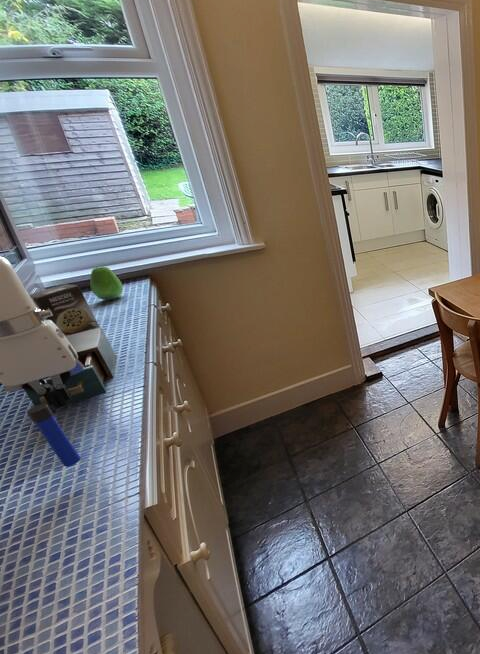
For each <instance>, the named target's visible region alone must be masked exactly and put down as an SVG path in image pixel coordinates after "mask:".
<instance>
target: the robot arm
mask: <svg viewBox="0 0 480 654" xmlns="http://www.w3.org/2000/svg"><path fill="white" fill-rule="evenodd" d="M50 316H53V314H52V312H51V310H50V309H48V310H41V309H39V308H38V307H36V306H35V304H34V302H33V301H32V299H31V297H30V295H29V292H28V290H27V288H26V287H25V285H24V284H23V282H22V280H21V278H20V277H19V275H18V273H17V272H16V269H14V267H13V265H12V264H11V262H10V261H9V260H8V259H7V258H5V257H3V256H0V383H1V385H3V387H4V390H5V392H16V391H22V390H24V389H25V390H30V391H34V392H37V393H38V394H43V396H44V397H45V399H46V401H47V402H48V404H49V405H54V407H55V408H56V409H55V410H59V409H61V408H65V407H68V406H69V405H68V403H69V399H71V398H72V396H71V394H70V392H69V391H68V389H67V387H66V386H65V383H66V381H67V380H68V379H69V377H70V376H72V375H74V374H76V373H78V372H81V371H82V370H83V369H84V365H83V364H82V363H81V362H79V361H78V360H77V359H78V355H77V353H76V351H75V349H74V348H73V346H72V345H71V344H70V342H69V341H68V339H67V338H66V337H65V335H64V334H63V333H62V332H61V330H60V329H59V328H58V327H57V326H56V325H55V324H54V323H53V322H52V321H51V320H45V318H47V317H50ZM44 320H45V321H44ZM50 376H51V379H52V382H53V385H54V386H53V385H49V384H48V383H47V382H46V381H45V380H44V379H43V378H46V377H50ZM25 390H24V391H25ZM63 406H64V407H63Z"/></svg>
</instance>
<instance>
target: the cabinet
mask: <svg viewBox="0 0 480 654" xmlns="http://www.w3.org/2000/svg"><path fill="white" fill-rule="evenodd" d="M65 337H66V338H67V339H68V341H69V342H70V344H71V345H72V346H73V348H74V349H75V351H76V353H77V355H81V354H85V353H89V352H92V351H94V352H95V354H96V355H97V357H98V359H99V361H100V363H101V364H102V366H103V368H104V370H105V374H104V380H105V381H107V380H106V379H108V380H110V379H109V378H111V379H114V378H115V372H114V371H115V370H116V362H117V361H116V360H117V354H116V352H115V351H114V348H113V346H112V345H111V343H110V341H109V339H108V337H107V335H106V333H105V332H104V330H103V328H102V327H101V326H100V328H96V329H92V330H88V331H84V332H80V333H76V334H72V335H68V336H65ZM113 377H114V378H113Z"/></svg>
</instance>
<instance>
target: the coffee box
mask: <svg viewBox="0 0 480 654" xmlns="http://www.w3.org/2000/svg"><path fill="white" fill-rule="evenodd" d="M28 294H29V293H28ZM29 295H30V297H31V299H32V301H33V302H34V304H35V306H36V307H38V308H39V309H41V310H48V309H50V310H51V312H52V314H53V316H50V317H47V318H45V320H51V321H52V322H53V323H54V324H55V325H56V326H57V327H58V328H59V329H60V330H61V332H62V333H63V334H64V335H65V336H68V335H72V334H76V333H80V332H84V331H88V330H92V329H96V328H100V327H101V326H100V325H99V323H98V321H97V319H96V316H95V315H94V312H93V311H92V309H91V306H90V305H89V303H88V301H87V300H86V298H85V296H84V294H83V292H82V290H81V288H80V286H79V285H76V284H67V283H65V284H61V285H57V286H55V287H51V288H48V289H43V290H40V291H37V292H33V293H30V294H29ZM45 320H44V321H45Z"/></svg>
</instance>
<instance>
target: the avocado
mask: <svg viewBox="0 0 480 654" xmlns="http://www.w3.org/2000/svg"><path fill="white" fill-rule="evenodd" d="M89 284H90V285H89V287H90V290H91V291H92V293H93V295H94V296H95V297H97V298H98V299H100V300H103V301H111V300H112V301H113V300H115V299H118V298H119V297H120V296H121V295H122V293H123V283H122V281H121V280H120V279H119V277H118V276H117V275H116V274H115V273H114V272H113V271H112V270H111V268H109V267H107V266H96V267H94V268H93V269H92V270H91V273H90V280H89Z"/></svg>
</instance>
